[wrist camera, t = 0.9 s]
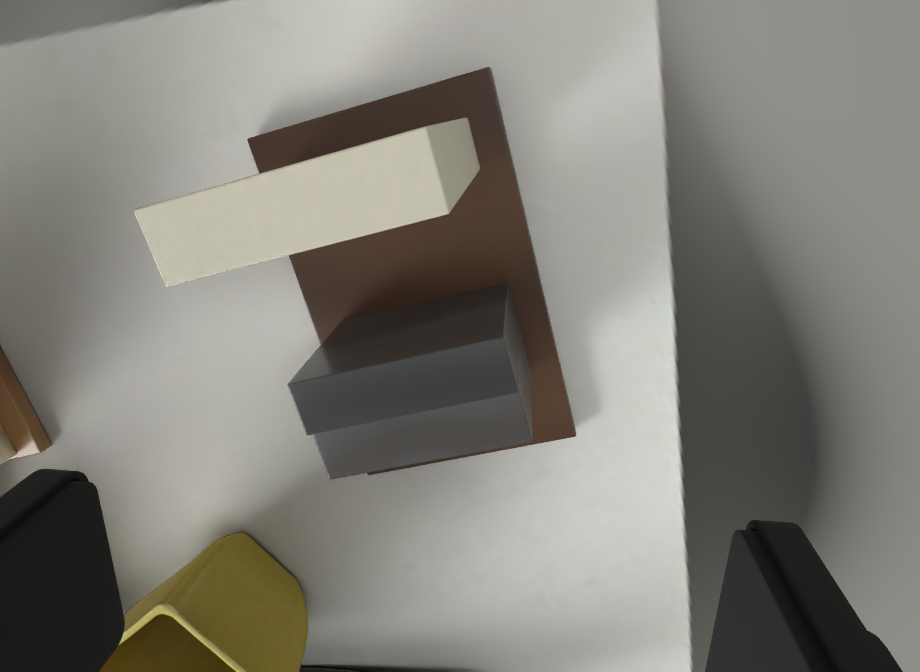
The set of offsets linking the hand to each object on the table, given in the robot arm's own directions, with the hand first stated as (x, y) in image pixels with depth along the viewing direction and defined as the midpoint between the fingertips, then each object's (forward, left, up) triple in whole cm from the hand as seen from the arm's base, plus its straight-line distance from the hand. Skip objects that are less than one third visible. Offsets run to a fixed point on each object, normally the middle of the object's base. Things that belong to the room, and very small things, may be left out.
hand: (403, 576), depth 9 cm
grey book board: (+2, -4, -24) cm, 25 cm away
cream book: (-5, -4, -23) cm, 24 cm away
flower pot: (+17, -21, -24) cm, 36 cm away
